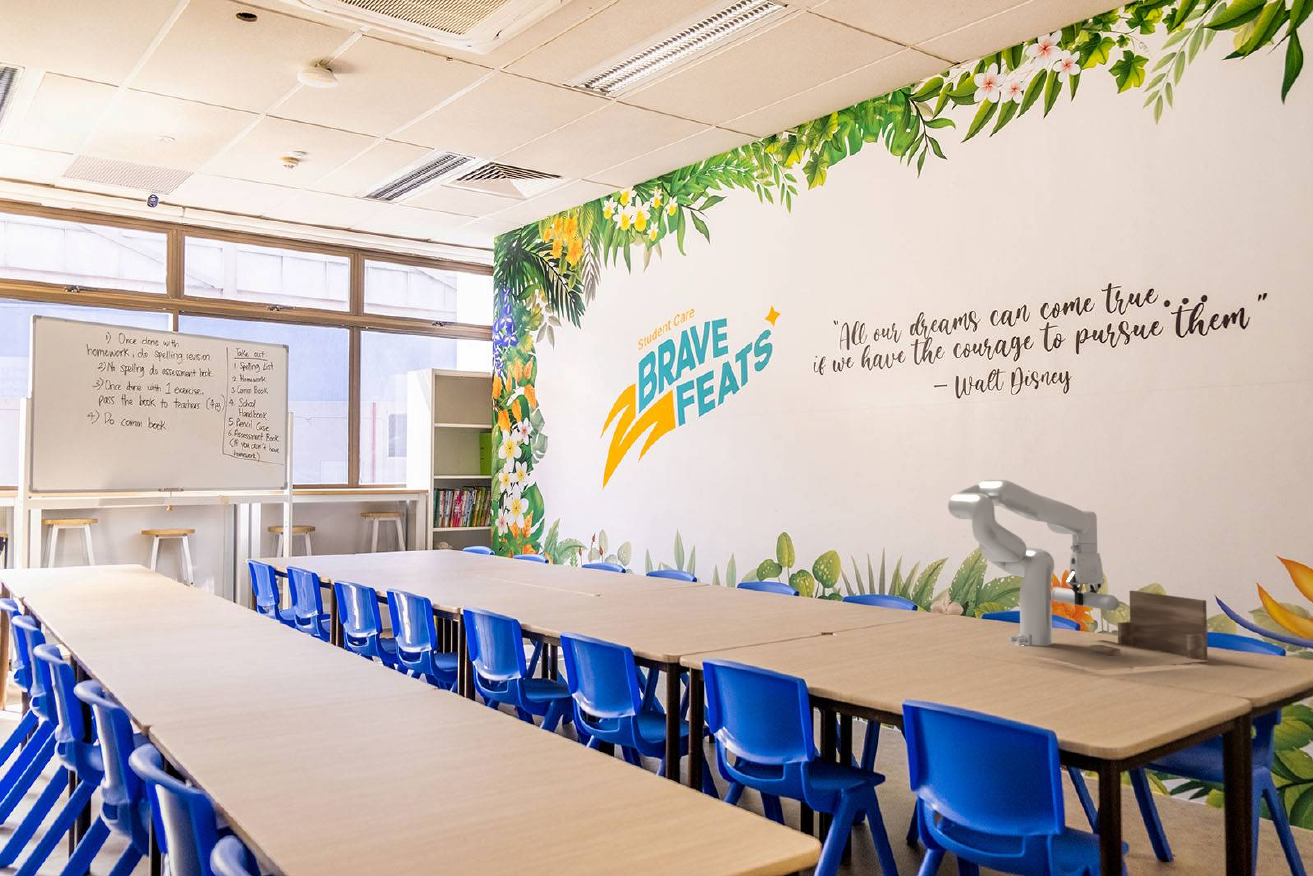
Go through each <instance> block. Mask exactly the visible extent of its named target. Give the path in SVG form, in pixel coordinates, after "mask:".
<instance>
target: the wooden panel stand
mask: <svg viewBox="0 0 1313 876" xmlns="http://www.w3.org/2000/svg"><path fill="white" fill-rule="evenodd" d="M1207 615H1208V614H1207V600H1205V599H1197V598H1190V597H1182V596H1176V595H1168V594H1160V593H1153V592H1146V591H1139V590H1129V621H1125V622H1122V621H1121V622H1117V644H1118V645H1126V646H1132V647H1136V646H1138V647H1137V648H1141V647H1142V649H1146V648H1147V649H1146V650H1152V651H1156V650H1159V651H1158V652H1161V651H1162V652H1161V653H1167V654H1172V655H1177V656H1183V657H1186V658H1187V659H1197V660H1201V661H1207V660H1208V628H1207V627H1208V626H1207V625H1208V623H1207V622H1208V620H1207V617H1208V616H1207Z"/></svg>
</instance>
